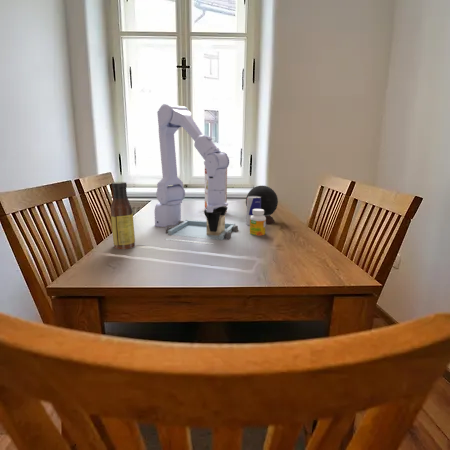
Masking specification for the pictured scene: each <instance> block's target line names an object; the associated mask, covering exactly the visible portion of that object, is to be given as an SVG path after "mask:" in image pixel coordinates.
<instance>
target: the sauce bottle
mask: <svg viewBox="0 0 450 450" xmlns="http://www.w3.org/2000/svg"><path fill="white" fill-rule="evenodd" d="M111 187H112V193H113V194H112V195H113V196H112V197H113V198H112V202H111V204H110V220H111V228H112V229H111V231H112V240H113V246H114V247H113V248H115V249H118V250H128V249H133V248H135V245H136V243H135V242H136V239H135V238H136V237H135V236H136V235H135V226H134V225H135V224H134V213H133V208H132V206H131V202H130V200H129V198H128V193H127V182H126V181H115V182H112V183H111Z"/></svg>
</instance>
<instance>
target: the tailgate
mask: <svg viewBox="0 0 450 450" xmlns="http://www.w3.org/2000/svg"><path fill="white" fill-rule="evenodd" d="M164 240H165V241H173V242H182V243H195V244H202V245H203V244H204V245H215V243H214V242H207V241H205V242H204V241H199V240H196V241H195V240H187V239H176V238H165V239H164Z"/></svg>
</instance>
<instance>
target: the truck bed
mask: <svg viewBox="0 0 450 450" xmlns="http://www.w3.org/2000/svg"><path fill="white" fill-rule="evenodd" d="M238 230H239V226H238V225H236V223H232V222H231V223H230V222H225V231H224V232H223V233H221V234H220V235H219V236H217V235H206V233H207V220H205V221H204V220H191V219H185V220H181V221H179V222H178V225H174V227H172V226H166V228H165V234H167V235H168V236H177V237H178V236H179V237H188V238H195V239H196V238H198V239H207V240H208V239H209V240H217V241H219V240H220V241H223V240H230V239H231V237H232V232H233V233H236V232H237V231H238Z"/></svg>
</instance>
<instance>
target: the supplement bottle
mask: <svg viewBox="0 0 450 450" xmlns="http://www.w3.org/2000/svg"><path fill="white" fill-rule="evenodd" d="M252 214H253V215H252V216H251V217H250V226H249V234H250V235H251V236H259V237H260V236H264V235H266V225H267V224H266V217H265V216H263V214H264V210H263V209H253V211H252Z"/></svg>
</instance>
